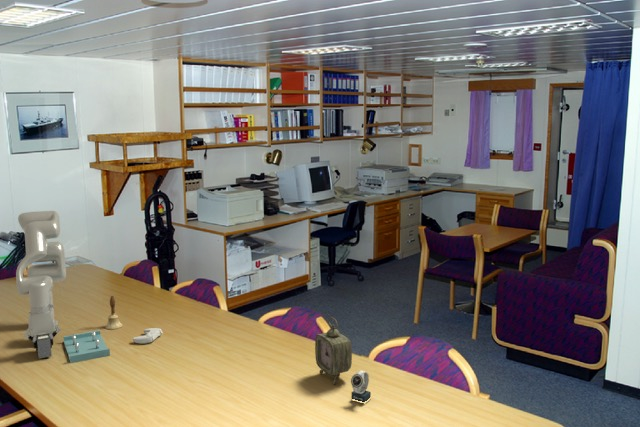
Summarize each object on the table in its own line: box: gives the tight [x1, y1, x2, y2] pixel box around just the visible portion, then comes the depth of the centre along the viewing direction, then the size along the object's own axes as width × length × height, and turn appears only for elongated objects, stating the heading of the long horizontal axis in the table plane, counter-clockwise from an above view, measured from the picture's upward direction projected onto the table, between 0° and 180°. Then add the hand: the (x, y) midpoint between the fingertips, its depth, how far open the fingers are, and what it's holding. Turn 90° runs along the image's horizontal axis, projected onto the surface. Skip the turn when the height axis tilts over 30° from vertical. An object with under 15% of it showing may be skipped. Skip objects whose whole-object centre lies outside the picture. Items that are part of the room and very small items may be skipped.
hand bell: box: [104, 295, 123, 330], centre depth 285 cm, size 8×8×16 cm
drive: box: [36, 334, 52, 359], centre depth 252 cm, size 12×5×8 cm, turn 30°
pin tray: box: [62, 329, 111, 364], centre depth 259 cm, size 26×16×5 cm, turn 30°
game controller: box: [132, 327, 164, 345], centre depth 270 cm, size 14×4×10 cm
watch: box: [350, 369, 371, 402], centre depth 210 cm, size 6×8×11 cm
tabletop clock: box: [314, 317, 353, 385], centre depth 227 cm, size 14×9×25 cm, turn 29°
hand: (43, 347), depth 253 cm, fingers closed on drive, 5 cm apart
